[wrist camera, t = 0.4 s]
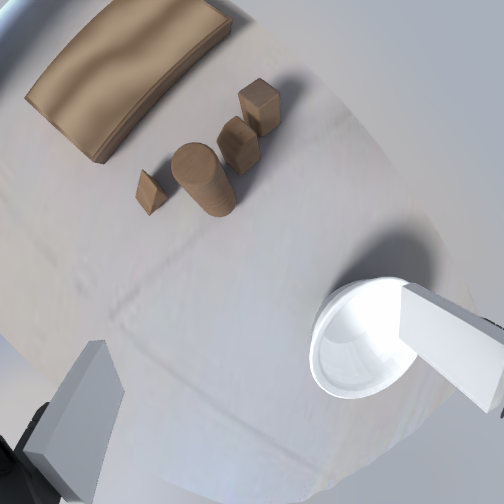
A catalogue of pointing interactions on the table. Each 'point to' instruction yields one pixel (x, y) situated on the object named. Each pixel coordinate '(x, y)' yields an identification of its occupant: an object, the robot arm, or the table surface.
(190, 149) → the wooden block set
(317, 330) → the bowl
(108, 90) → the plinth
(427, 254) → the table surface
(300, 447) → the table surface
